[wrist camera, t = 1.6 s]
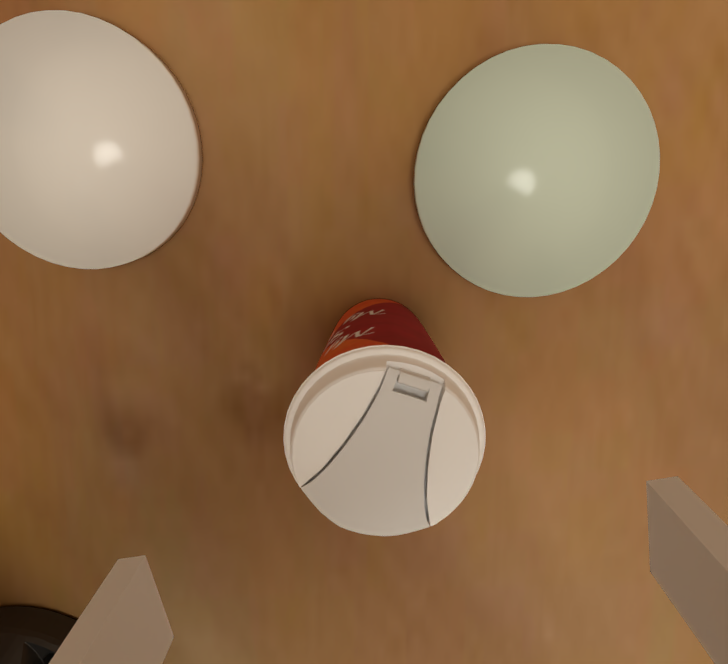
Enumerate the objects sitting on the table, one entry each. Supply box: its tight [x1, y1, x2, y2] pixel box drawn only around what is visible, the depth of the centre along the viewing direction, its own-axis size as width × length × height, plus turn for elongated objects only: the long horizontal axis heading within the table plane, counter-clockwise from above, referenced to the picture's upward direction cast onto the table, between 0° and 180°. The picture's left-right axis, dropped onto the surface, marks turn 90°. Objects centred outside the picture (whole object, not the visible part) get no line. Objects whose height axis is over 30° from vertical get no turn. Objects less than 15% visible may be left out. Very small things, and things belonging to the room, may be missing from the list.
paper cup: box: [283, 299, 485, 536], centre depth 26 cm, size 8×8×14 cm
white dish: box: [0, 10, 203, 269], centre depth 29 cm, size 13×13×1 cm
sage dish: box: [413, 44, 660, 297], centre depth 29 cm, size 13×13×1 cm
